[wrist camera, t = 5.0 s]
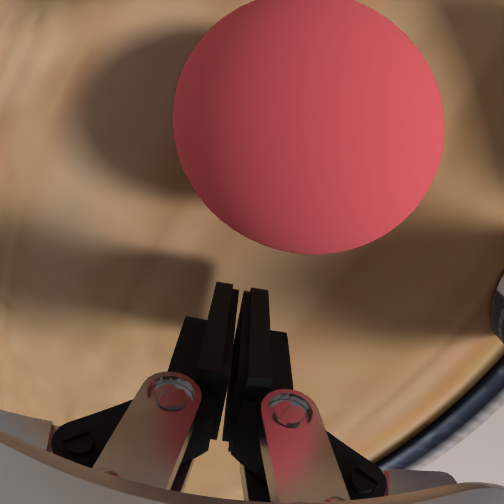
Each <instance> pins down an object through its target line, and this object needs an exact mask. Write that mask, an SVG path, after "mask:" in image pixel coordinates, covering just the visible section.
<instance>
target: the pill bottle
mask: <svg viewBox="0 0 504 504" xmlns="http://www.w3.org/2000/svg"><path fill="white" fill-rule="evenodd" d="M491 325H492V329H493V331H494V332H495V334H496V335H497V336H498V337H499V339H500V340H501V341H502V342H503V343H504V274H503V276H502V278H501V280H500V282H499V284H498V287H497V289H496V292H495V295H494V298H493V302H492V308H491Z"/></svg>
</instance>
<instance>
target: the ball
mask: <svg viewBox="0 0 504 504" xmlns="http://www.w3.org/2000/svg"><path fill="white" fill-rule="evenodd" d="M173 133H174V139H175V145H176V150H177V153H178V156H179V160H180V163H181V165H182V168H183V170H184V172H185V174H186V176H187V178H188V180H189V182H190V183H191V185H192V187H193V188H194V190H195V191H196V193H197V194H198V196H199V197H200V198H201V200H202V201H203V202H204V203H205V205H206V206H207V207H208V208H209V209H210V210H211V211H212V212H213V213H214V214H215V215H216V216H217V217H218V218H219V219H220V220H221V221H223V222H224V223H225V224H227V225H228V226H229V227H231V228H232V229H233V230H235V231H237V232H238V233H240V234H242V235H243V236H245V237H247V238H249V239H251V240H253V241H256V242H258V243H260V244H262V245H265V246H268V247H271V248H274V249H277V250H282V251H286V252H291V253H300V254H328V253H337V252H341V251H346V250H350V249H354V248H357V247H360V246H362V245H365V244H367V243H370V242H372V241H374V240H376V239H378V238H380V237H381V236H383V235H385V234H386V233H388V232H390V231H391V230H392V229H394V228H395V227H396V226H398V225H399V224H400V223H401V222H403V221H404V220H405V219H406V218H407V217H408V216H409V215H410V214H411V213H412V212H413V210H414V209H415V208H416V207H417V205H418V204H419V203H420V202H421V200H422V199H423V197H424V195H425V194H426V192H427V190H428V189H429V187H430V185H431V183H432V181H433V179H434V177H435V174H436V172H437V170H438V166H439V163H440V160H441V156H442V151H443V144H444V114H443V106H442V100H441V96H440V93H439V89H438V86H437V83H436V81H435V78H434V76H433V74H432V71H431V69H430V67H429V66H428V64H427V62H426V61H425V59H424V57H423V56H422V54H421V53H420V51H419V50H418V49H417V47H416V46H415V45H414V44H413V43H412V41H411V40H410V39H409V38H408V37H407V35H406V34H405V33H404V32H402V31H401V30H400V29H399V28H398V27H397V26H396V25H395V24H394V23H392V22H391V21H390V20H388V19H387V18H385V17H384V16H382V15H381V14H379V13H378V12H376V11H375V10H373V9H371V8H369V7H367V6H365V5H363V4H360V3H358V2H356V1H353V0H255V1H253V2H250V3H248V4H246V5H243V6H241V7H239V8H238V9H236V10H234V11H233V12H231V13H230V14H228V15H226V16H225V17H224V18H222V19H221V20H220V21H219V22H218V23H216V24H215V25H214V26H213V27H212V28H211V29H210V30H209V31H208V32H207V33H206V34H205V35H204V36H203V38H202V39H201V40H200V41H199V42H198V43H197V45H196V46H195V48H194V49H193V51H192V52H191V54H190V56H189V57H188V59H187V60H186V63H185V65H184V67H183V69H182V72H181V74H180V76H179V80H178V83H177V87H176V91H175V96H174V104H173Z"/></svg>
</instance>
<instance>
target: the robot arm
mask: <svg viewBox="0 0 504 504" xmlns="http://www.w3.org/2000/svg"><path fill="white" fill-rule="evenodd" d="M238 295H239V290H236V289H233V284H228V283H222V282H216V286H215V290H214V294H213V299H212V303H211V307H210V311H209V316H208V320H204V319H199V318H193V317H188V316H186V317H185V320H184V323H183V326H182V329H181V332H180V335H179V338H178V341H177V344H176V347H175V350H174V353H173V356H172V359H171V362H170V365H169V369H168V372H160V373H156V374H154V375H152V376H150V377H148V378H147V380H146V381H145V382H144V383H143V384H142V386H141V388H140V389H139V391H138V392H137V394H136V396H135V397H134V399H133V400H130V401H128V402H125V403H122V404H120V405H117V406H114V407H111V408H109V409H106V410H103V411H100V412H97V413H95V414H92V415H89V416H86V417H83V418H80V419H77V420H74V421H71V422H68V423H66V424H64V425H62V426H56V425H53V422H52V421H47V420H42V419H37V418H32V417H28V416H23V415H19V414H15V413H11V412H7V411H3V410H0V504H504V486H501V485H497V484H491V483H482V482H466V483H457V482H456V481H455V479H454V478H453V477H452V476H451V475H449V474H448V473H445V472H440V471H439V472H437V471H416V470H402V469H391V468H388V469H387V470H386V471H382V470H381V469H380V468H378V467H377V466H376V465H375V464H373V463H372V462H370V461H369V460H367V459H366V458H364V457H363V456H361V455H360V454H358V453H357V452H356V451H354V450H353V449H351V448H350V447H348V446H347V445H346V444H344V443H343V442H341V441H340V440H338V439H337V438H336V437H334V436H333V435H332V434H330V433H329V432H327V431H326V430H325V427H324V424H323V421H322V419H321V416H320V413H319V410H318V408H317V406H316V404H315V403H314V401H313V400H312V399H310V398H309V397H308V396H307V395H305V394H303V393H302V392H299V391H296V390H293V381H292V372H291V364H290V355H289V346H288V338H287V333H286V332H279V331H272V330H270V315H269V296H268V290H263V289H257V288H251V290H250V292H248V291H244V293H243V298H242V303H241V308H240V313H239V318H238V323H237V328H236V334H235V339H234V333H235V323H236V314H237V304H238ZM233 343H234V344H233ZM227 387H228V388H227ZM226 392H227V398H226V408H225V418H224V428H223V438H222V441H228V442H229V448H228V451H230V452H231V455H232V456H234V457H235V458H236V459H237V460H238V461H239V462H240V474H241V481H242V488H243V495H244V501H241V500H231V499H222V498H214V497H207V496H200V495H194V494H188V493H183V491H184V488H185V485H186V482H187V480H188V477H189V474H190V471H191V469H192V466H193V463H194V458H196V457H198V456H200V455H201V454H203V453H205V452H207V451H208V448H209V442H210V439H214V440H217V436H218V431H219V426H220V421H221V416H222V412H223V407H224V402H225V397H226Z"/></svg>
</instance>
